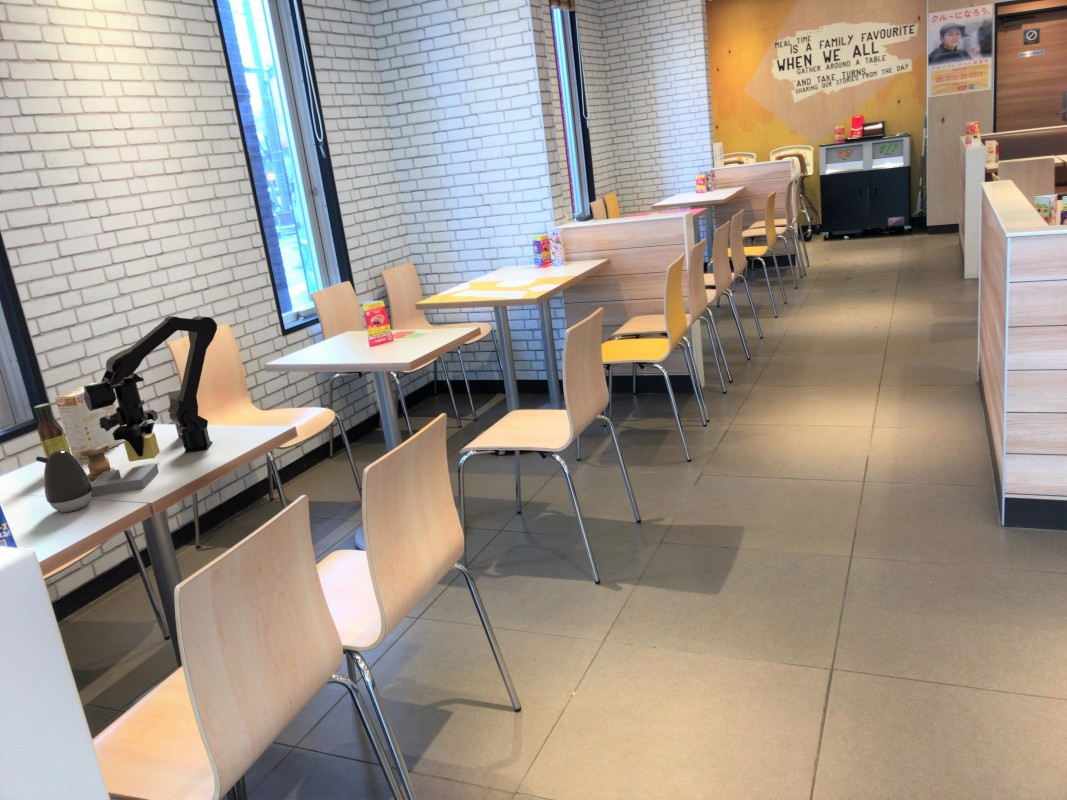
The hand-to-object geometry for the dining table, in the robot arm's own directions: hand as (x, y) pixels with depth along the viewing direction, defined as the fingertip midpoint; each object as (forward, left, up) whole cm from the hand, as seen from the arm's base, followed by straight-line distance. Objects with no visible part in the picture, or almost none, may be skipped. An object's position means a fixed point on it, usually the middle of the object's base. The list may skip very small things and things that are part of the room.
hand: (143, 453), depth 236 cm
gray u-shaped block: (+1, +15, -3) cm, 15 cm away
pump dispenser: (+9, +28, -4) cm, 30 cm away
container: (-4, -25, -4) cm, 26 cm away
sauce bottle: (+26, -7, -4) cm, 27 cm away
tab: (0, 0, -1) cm, 1 cm away
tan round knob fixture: (+11, +4, -3) cm, 12 cm away
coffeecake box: (+22, -24, -4) cm, 33 cm away
